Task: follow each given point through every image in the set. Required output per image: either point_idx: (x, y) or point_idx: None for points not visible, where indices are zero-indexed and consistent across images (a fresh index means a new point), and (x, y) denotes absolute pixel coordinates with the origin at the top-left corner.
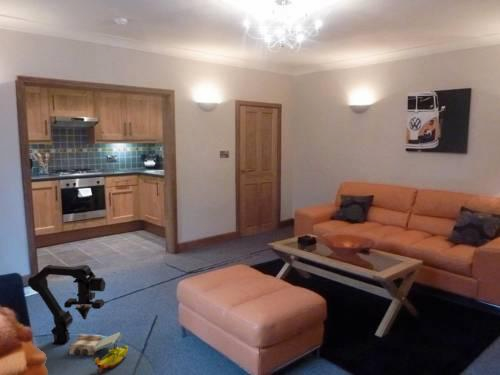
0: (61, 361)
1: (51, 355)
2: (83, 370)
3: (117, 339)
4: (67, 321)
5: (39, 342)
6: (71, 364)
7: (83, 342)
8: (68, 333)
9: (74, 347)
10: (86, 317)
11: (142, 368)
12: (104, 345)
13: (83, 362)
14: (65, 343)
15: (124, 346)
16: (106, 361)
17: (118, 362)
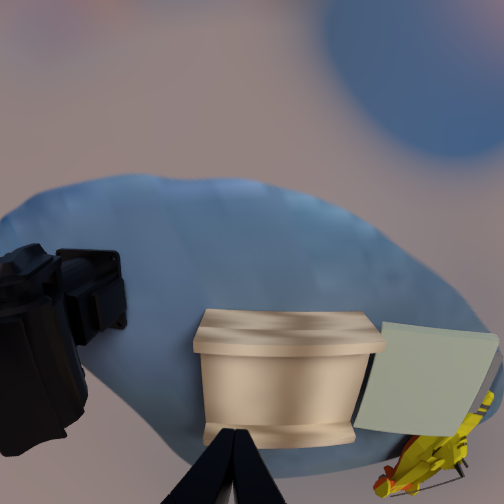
0: None
1: (134, 408)
2: (326, 473)
3: (476, 397)
4: (53, 401)
5: None
6: (264, 459)
7: (262, 379)
8: (101, 306)
9: None
10: (252, 441)
11: (489, 413)
12: (413, 432)
13: (311, 447)
14: (125, 315)
15: (484, 405)
16: (416, 493)
17: None
